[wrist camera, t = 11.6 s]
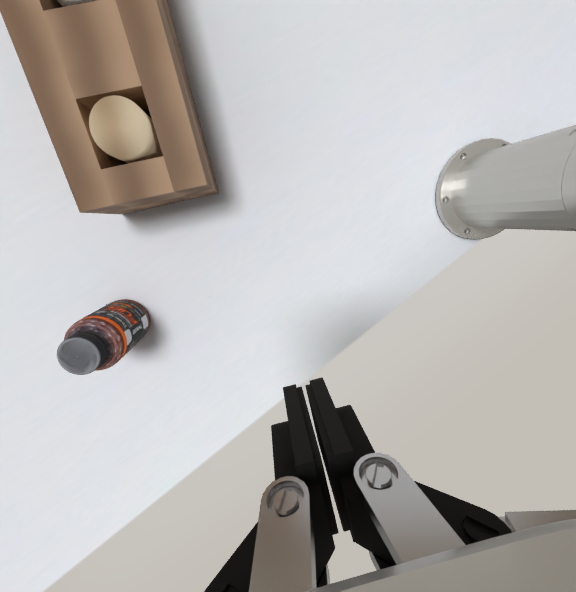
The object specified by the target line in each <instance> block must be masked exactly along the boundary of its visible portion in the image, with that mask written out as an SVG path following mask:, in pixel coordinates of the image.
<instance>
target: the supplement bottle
mask: <svg viewBox="0 0 576 592" xmlns="http://www.w3.org/2000/svg"><path fill="white" fill-rule="evenodd" d="M149 322H150V321H149V316H148V314H147V312H146V310H145V309H144V308H143V307H142V306H141V305H140V304H138V303H136V302H134V301H131V300H117V301H114V302H112V303H110V304H108V305H107V304H106V306H105V307H103V308H101V309H99V310H97V311H95V312H93V313H92V314H90V315H88V316H86V317H84V318H83V319H81V320H79V321H77V322H76V323H74V324H73V325H72V326H71V327H70V328H69V329H68V331H67V332H66V334H65V337H64V341H63V342H62V343H61V344H60V345H59V347H58V350H57V358H58V361H59V363H60V365H61V366H62V367H63V368H64V369H65V370H67V371H68V372H70V373H73V374H77V375H85V374H89V373H91V372H93V371H95V370H103V369H107V368H109V367H111V366H113V365H114V364H116V363H117V362H118V361H119V360H120V359H121V358H122V357H123V356H124V355H125V354H126V353H127V352H128V351H129V350H130V349H131V348H132V347H133V346H134V345H135V344H136V343H137V342H138V341H140V339H141V338H142V337H143V336H144V335H145V334H146V333H147V331H148V329H149Z"/></svg>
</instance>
